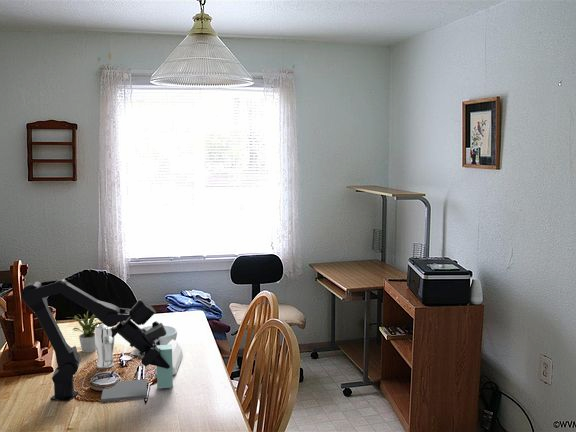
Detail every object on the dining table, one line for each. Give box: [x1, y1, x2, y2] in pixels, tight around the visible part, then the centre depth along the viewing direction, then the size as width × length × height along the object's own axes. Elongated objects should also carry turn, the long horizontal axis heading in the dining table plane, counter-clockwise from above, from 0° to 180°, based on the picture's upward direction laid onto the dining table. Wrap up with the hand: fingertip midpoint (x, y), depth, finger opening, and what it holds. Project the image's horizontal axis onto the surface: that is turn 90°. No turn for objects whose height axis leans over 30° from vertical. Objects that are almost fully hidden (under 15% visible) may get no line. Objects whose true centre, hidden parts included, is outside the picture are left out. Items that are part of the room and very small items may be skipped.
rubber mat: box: [100, 378, 148, 403], centre depth 195 cm, size 14×14×1 cm
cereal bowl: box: [139, 325, 178, 345], centre depth 239 cm, size 17×17×7 cm
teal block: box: [156, 344, 174, 389], centre depth 198 cm, size 5×5×13 cm
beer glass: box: [94, 323, 115, 369], centre depth 219 cm, size 7×7×15 cm
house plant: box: [65, 310, 103, 353], centre depth 235 cm, size 14×14×16 cm
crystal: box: [154, 339, 184, 376], centre depth 220 cm, size 7×7×24 cm
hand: (168, 364), depth 198 cm, fingers closed on teal block, 5 cm apart
